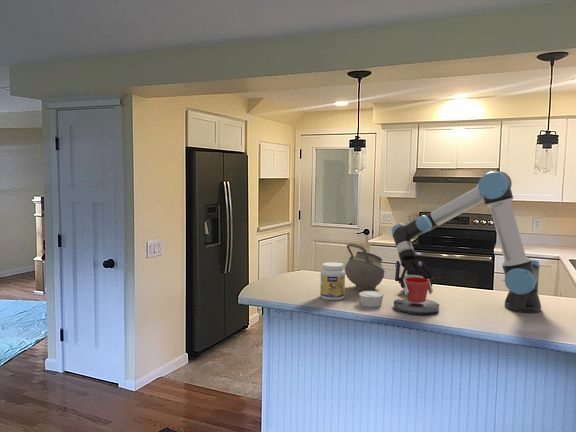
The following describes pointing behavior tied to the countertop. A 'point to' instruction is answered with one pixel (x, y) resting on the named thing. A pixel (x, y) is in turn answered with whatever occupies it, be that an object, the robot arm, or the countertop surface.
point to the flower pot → (417, 289)
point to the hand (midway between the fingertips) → (419, 293)
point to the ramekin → (371, 298)
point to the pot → (364, 269)
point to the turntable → (416, 306)
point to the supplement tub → (332, 281)
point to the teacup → (411, 276)
